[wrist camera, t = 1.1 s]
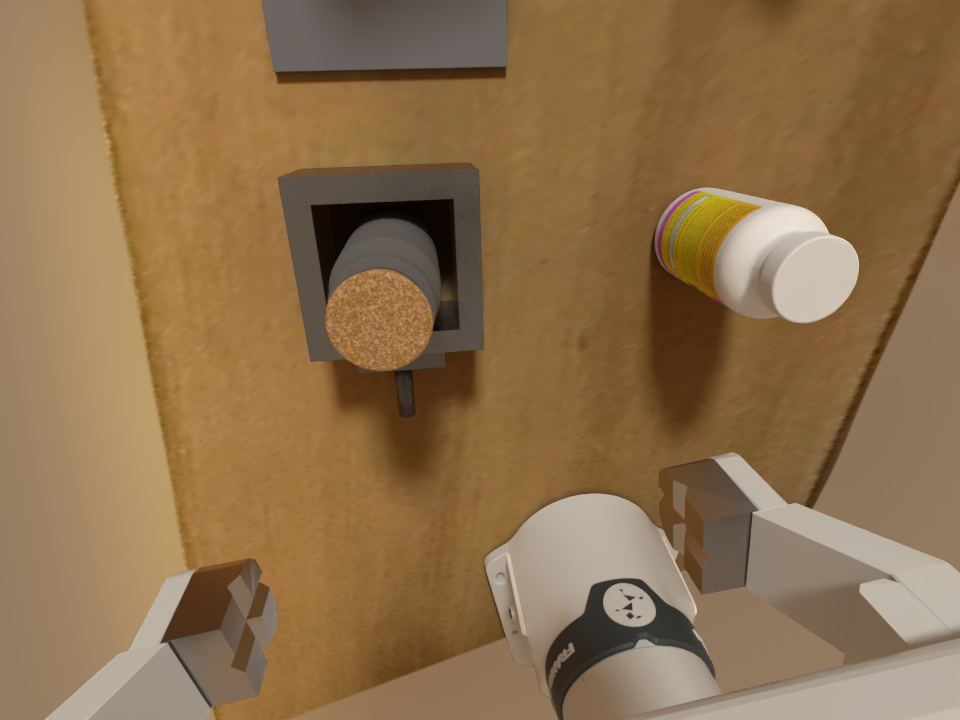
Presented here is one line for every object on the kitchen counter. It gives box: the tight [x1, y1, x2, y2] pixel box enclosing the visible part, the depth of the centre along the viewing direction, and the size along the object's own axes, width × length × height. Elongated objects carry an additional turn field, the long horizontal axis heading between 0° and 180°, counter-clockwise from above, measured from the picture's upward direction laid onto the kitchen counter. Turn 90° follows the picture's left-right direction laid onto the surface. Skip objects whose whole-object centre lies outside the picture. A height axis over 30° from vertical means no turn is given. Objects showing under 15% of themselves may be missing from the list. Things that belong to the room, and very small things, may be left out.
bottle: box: [325, 207, 442, 371], centre depth 30 cm, size 6×6×15 cm
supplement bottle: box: [655, 188, 859, 323], centre depth 33 cm, size 7×7×13 cm
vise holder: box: [278, 163, 484, 417], centre depth 35 cm, size 17×11×6 cm, turn 2°
